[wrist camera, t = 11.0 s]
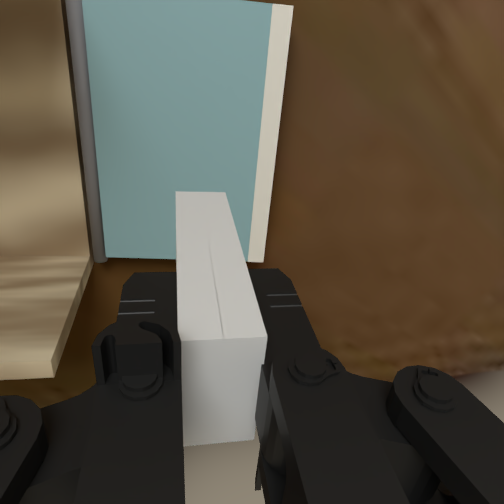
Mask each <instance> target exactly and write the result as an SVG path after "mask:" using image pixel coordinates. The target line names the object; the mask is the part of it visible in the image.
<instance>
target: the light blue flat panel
mask: <svg viewBox="0 0 504 504" xmlns="http://www.w3.org/2000/svg"><path fill="white" fill-rule="evenodd" d="M65 3H66V12H67V21H68V30H69V39H70V48H71V57H72V66H73V75H74V84H75V94H76V103H77V112H78V121H79V130H80V139H81V148H82V157H83V166H84V175H85V184H86V193H87V202H88V212H89V221H90V230H91V239H92V248H93V257H94V261H95V262H97V263H103V262H106V261H107V260H108V257H119V258H153V259H176V192H175V191H182V192H225V193H226V196H227V200H228V203H229V207H230V210H231V214H232V217H233V220H234V224H235V227H236V231H237V234H238V238H239V241H240V244H241V248H242V251H243V255H244V258H245V261H248V262H263V260H264V252H265V243H266V235H267V226H268V218H269V209H270V201H271V192H272V184H273V175H274V167H275V158H276V150H277V142H278V133H279V125H280V116H281V108H282V99H283V91H284V82H285V74H286V65H287V57H288V48H289V40H290V31H291V23H292V14H293V6H290V5H280V4H270V3H261V2H252V1H243V0H65Z"/></svg>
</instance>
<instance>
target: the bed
mask: <svg viewBox="0 0 504 504" xmlns="http://www.w3.org/2000/svg"><path fill="white" fill-rule="evenodd" d="M93 264H94V260H93V251H92V242H91V233H90V224H89V215H88V206H87V197H86V188H85V179H84V170H83V160H82V151H81V142H80V133H79V124H78V115H77V106H76V97H75V88H74V79H73V70H72V61H71V52H70V43H69V34H68V25H67V16H66V7H65V0H0V380H12V379H32V378H52V377H54V376H55V373H56V370H57V368H58V365H59V362H60V359H61V356H62V353H63V350H64V347H65V344H66V342H67V339H68V336H69V333H70V330H71V327H72V324H73V321H74V319H75V316H76V313H77V310H78V307H79V304H80V301H81V298H82V295H83V293H84V290H85V287H86V284H87V281H88V278H89V275H90V272H91V269H92V267H93Z"/></svg>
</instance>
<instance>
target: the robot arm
mask: <svg viewBox="0 0 504 504" xmlns="http://www.w3.org/2000/svg"><path fill="white" fill-rule="evenodd" d="M175 192H176V272H144V273H134V274H133V275H132V276H131V277H130V278H129V279H128V280H127V282H126V283H125V284H124V285H123V289H122V294H121V303H120V306H119V311H118V317H117V322H116V323H113V324H111V325H109V326H108V327H106V328H105V329H104V330H103V331H102V332H100V333H99V334H98V335H97V337H96V339H95V341H94V342H93V344H92V346H91V347H92V353H93V360H94V367H95V374H96V381H97V383H96V384H95V385H94V386H92V387H91V388H90V389H88V390H87V391H85V392H83V393H82V394H80V395H78V396H75V397H73V398H71V399H68V400H65V401H62V402H59V403H56V404H53V405H50V406H47V407H44V408H41V409H40V408H39V407H38V406H37V405H36V404H35V403H34V402H33V401H32V400H30V399H27V398H24V397H20V396H17V395H13V396H0V504H185V484H184V452H183V451H184V449H183V447H184V446H194V445H204V444H215V443H224V442H234V441H235V442H236V441H246V440H254V435H255V428H256V426H257V431H258V436H259V441H260V451H259V457H258V464H257V471H256V478H255V490H261V484H262V488H263V494H264V498H265V504H504V423H503V422H502V421H501V420H500V419H499V418H498V417H497V416H496V415H495V414H493V413H492V412H491V411H490V410H489V409H488V408H487V407H486V406H485V405H484V404H483V403H482V402H481V401H479V400H478V399H477V398H476V397H475V396H474V395H473V394H472V393H471V392H470V391H469V390H468V389H466V388H465V387H464V386H463V385H462V384H461V383H459V382H458V381H457V380H455V379H454V378H453V377H451V376H450V375H448V374H446V373H444V372H442V371H439V370H437V369H435V368H431V367H426V366H420V365H417V366H408V367H405V368H403V369H402V370H400V371H398V372H397V374H396V376H395V378H394V381H393V383H392V382H387V381H382V380H377V379H372V378H366V377H362V376H358V375H355V374H352V373H349V372H347V371H346V370H345V368H344V366H343V365H342V364H341V362H340V361H339V360H338V358H336V357H335V356H333V355H332V354H331V353H329V352H328V351H326V350H324V349H321V347H320V345H319V342H318V340H317V338H316V336H315V333H314V331H313V329H312V327H311V324H310V322H309V320H308V317H307V315H306V313H305V311H304V308H303V307H302V306H301V302H300V299H299V297H298V295H297V293H296V290H295V288H294V286H293V284H292V281H291V279H289V278H288V277H287V276H286V275H285V274H284V273H283V272H281V271H280V270H279V269H278V268H277V269H248V268H247V265H246V261H245V258H244V255H243V251H242V248H241V244H240V241H239V238H238V234H237V231H236V227H235V224H234V220H233V217H232V214H231V210H230V207H229V203H228V200H227V196H226V193H225V192H182V191H175Z"/></svg>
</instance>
